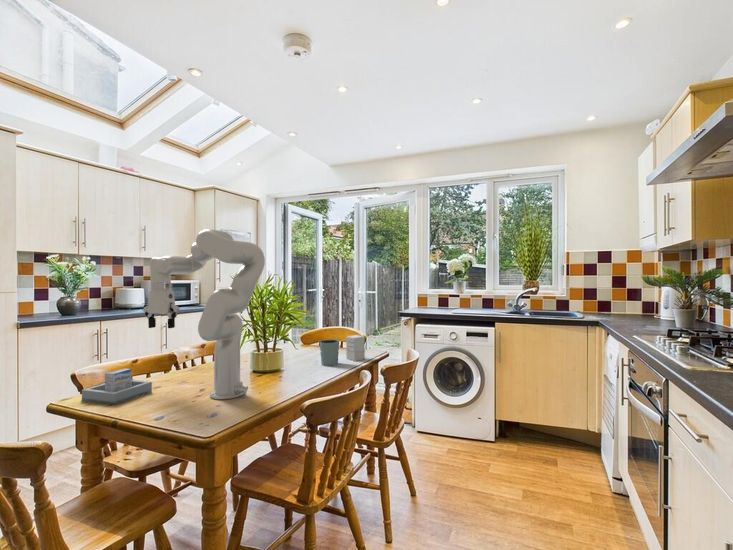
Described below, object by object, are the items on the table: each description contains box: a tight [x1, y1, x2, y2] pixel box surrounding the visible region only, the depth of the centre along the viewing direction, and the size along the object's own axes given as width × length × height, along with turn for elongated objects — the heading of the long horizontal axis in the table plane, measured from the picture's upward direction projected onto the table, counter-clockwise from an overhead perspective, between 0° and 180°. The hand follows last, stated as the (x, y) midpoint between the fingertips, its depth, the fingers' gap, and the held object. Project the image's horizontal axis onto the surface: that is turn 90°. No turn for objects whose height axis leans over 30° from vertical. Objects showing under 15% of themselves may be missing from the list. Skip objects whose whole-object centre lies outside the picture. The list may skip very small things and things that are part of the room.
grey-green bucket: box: [319, 339, 340, 367], centre depth 199 cm, size 10×10×12 cm
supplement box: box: [345, 334, 366, 362], centre depth 211 cm, size 7×7×13 cm
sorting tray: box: [81, 379, 153, 406], centre depth 148 cm, size 16×16×4 cm
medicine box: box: [104, 368, 132, 392], centre depth 148 cm, size 8×4×9 cm, turn 164°
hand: (161, 327), depth 161 cm, fingers open, 9 cm apart
